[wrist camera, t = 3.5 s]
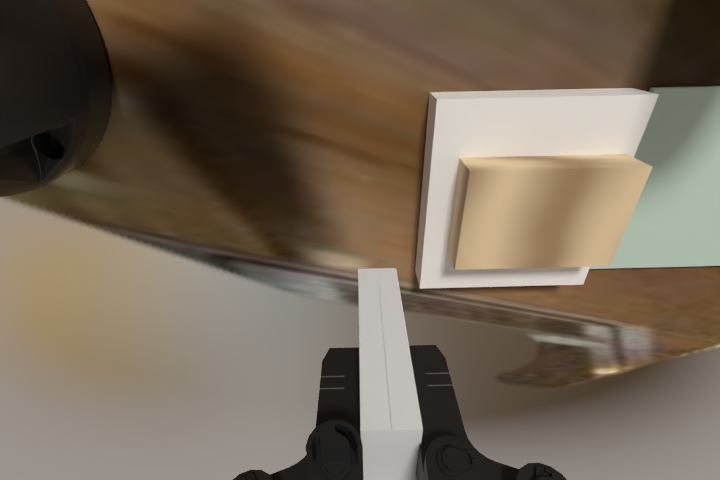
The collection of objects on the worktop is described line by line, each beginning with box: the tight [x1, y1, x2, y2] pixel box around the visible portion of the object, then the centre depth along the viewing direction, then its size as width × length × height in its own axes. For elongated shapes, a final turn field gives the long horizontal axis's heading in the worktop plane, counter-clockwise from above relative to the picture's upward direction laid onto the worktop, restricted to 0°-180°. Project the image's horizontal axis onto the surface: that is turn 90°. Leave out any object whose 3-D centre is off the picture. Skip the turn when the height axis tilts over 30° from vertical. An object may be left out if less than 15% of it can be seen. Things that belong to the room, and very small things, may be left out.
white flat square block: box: [415, 88, 659, 289], centre depth 21 cm, size 11×12×2 cm
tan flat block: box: [447, 154, 653, 270], centre depth 20 cm, size 9×6×2 cm, turn 91°
